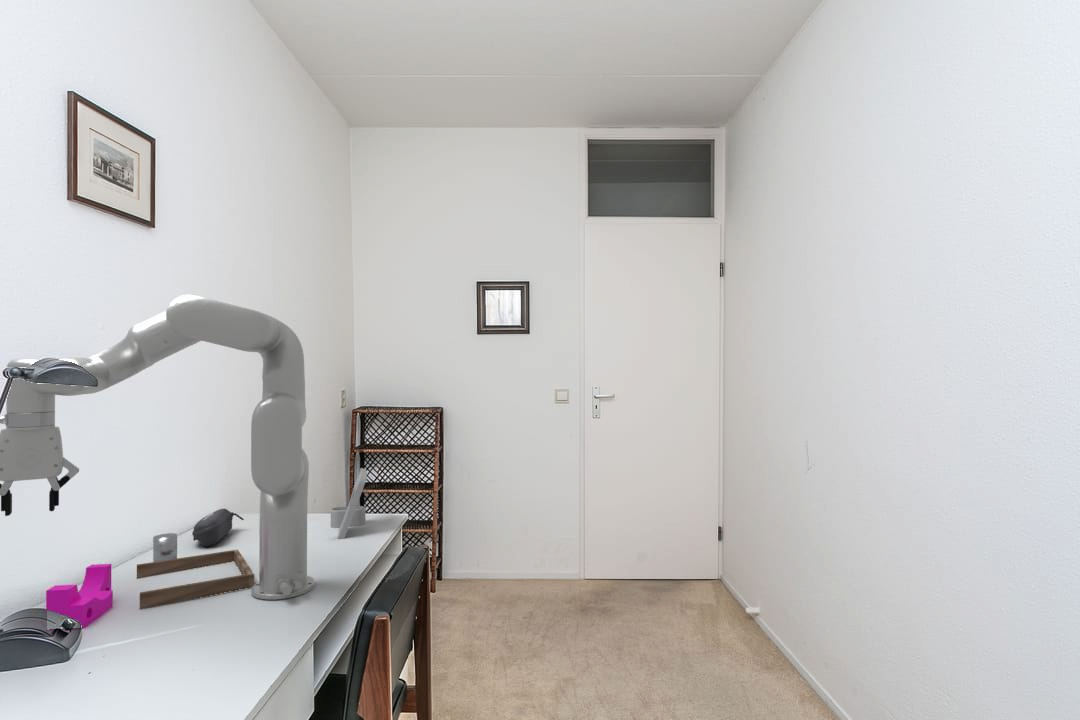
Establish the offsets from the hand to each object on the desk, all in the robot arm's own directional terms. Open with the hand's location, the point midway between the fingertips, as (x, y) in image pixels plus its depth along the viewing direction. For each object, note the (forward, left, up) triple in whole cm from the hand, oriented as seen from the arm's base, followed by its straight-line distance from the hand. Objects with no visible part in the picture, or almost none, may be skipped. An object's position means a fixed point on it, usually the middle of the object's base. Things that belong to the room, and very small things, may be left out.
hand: (30, 511), depth 125 cm
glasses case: (+34, -37, -20) cm, 54 cm away
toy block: (-8, -10, -20) cm, 24 cm away
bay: (0, -29, -20) cm, 35 cm away
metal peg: (+18, -24, -20) cm, 36 cm away
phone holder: (+20, -69, -20) cm, 74 cm away
